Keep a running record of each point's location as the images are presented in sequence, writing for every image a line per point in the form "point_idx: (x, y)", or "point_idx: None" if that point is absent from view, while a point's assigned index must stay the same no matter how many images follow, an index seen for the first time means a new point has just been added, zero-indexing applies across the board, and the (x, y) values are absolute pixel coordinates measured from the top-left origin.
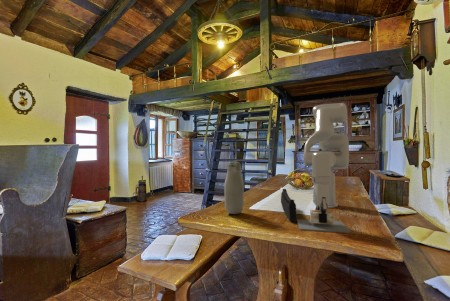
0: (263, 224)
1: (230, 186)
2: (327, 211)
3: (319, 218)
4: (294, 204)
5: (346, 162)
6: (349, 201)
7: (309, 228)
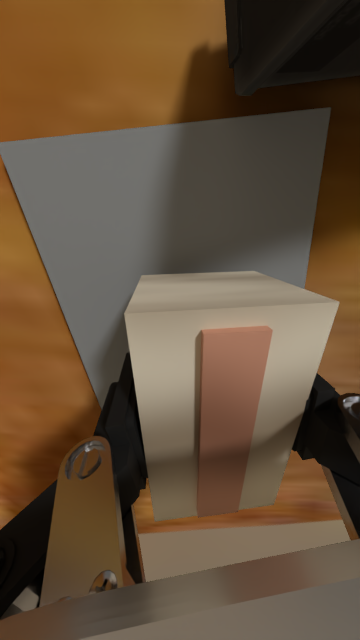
0: None
1: None
2: (227, 493)
3: (119, 378)
4: None
5: None
6: None
7: (62, 253)
